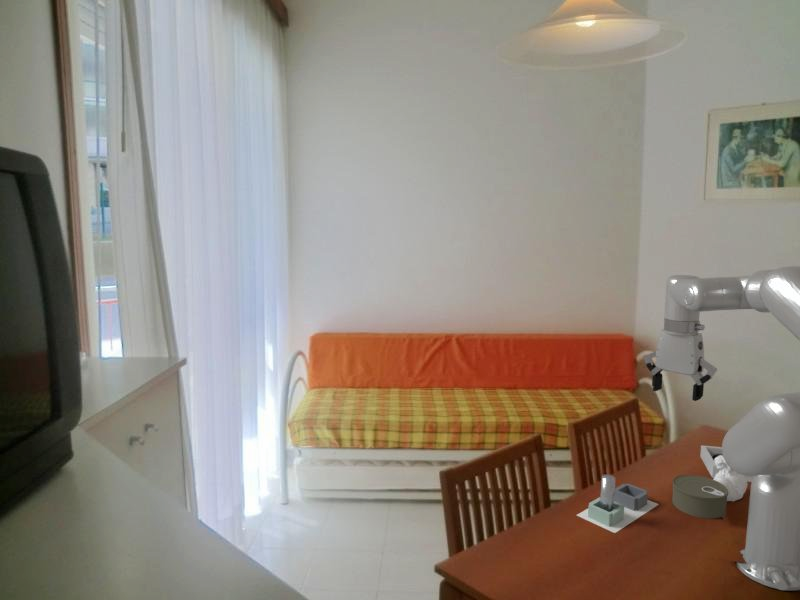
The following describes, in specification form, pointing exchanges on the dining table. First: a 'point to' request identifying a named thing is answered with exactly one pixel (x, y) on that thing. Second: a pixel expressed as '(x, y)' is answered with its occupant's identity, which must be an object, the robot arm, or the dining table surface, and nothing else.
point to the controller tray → (707, 458)
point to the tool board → (619, 508)
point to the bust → (730, 480)
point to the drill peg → (607, 492)
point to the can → (700, 496)
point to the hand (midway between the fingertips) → (676, 394)
